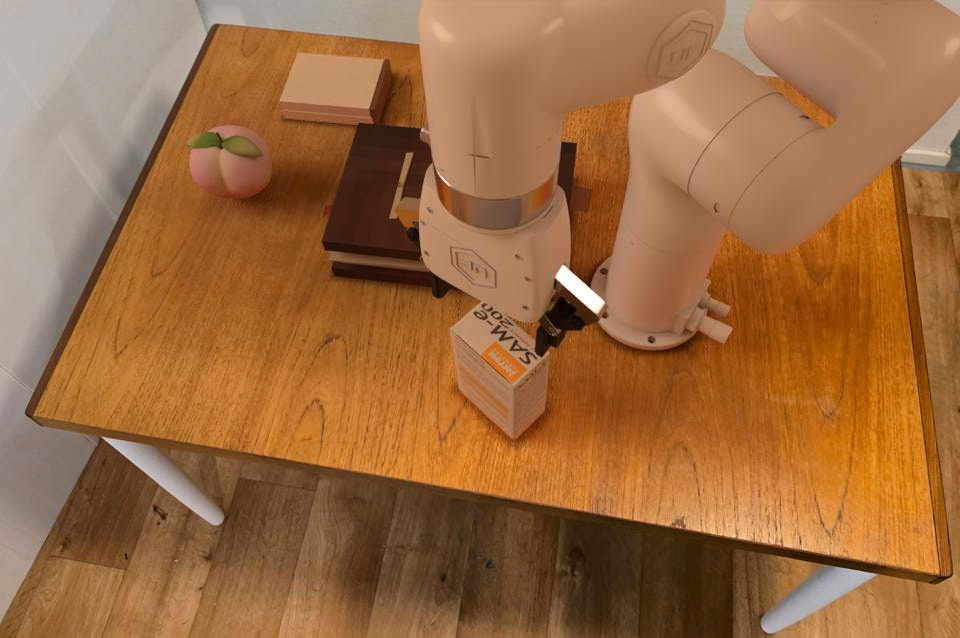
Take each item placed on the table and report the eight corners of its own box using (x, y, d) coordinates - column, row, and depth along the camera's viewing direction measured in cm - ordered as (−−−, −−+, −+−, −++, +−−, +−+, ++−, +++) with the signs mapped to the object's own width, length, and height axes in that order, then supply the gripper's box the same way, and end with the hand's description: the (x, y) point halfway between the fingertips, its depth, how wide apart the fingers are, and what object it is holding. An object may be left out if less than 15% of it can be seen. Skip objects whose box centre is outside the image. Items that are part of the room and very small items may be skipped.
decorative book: (339, 107, 86) (600, 131, 83) (351, 152, 92) (593, 176, 90) (294, 243, 77) (586, 275, 74) (311, 282, 83) (579, 313, 80)
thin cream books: (392, 77, 99) (389, 59, 96) (378, 127, 94) (374, 109, 92) (303, 69, 100) (297, 51, 97) (285, 118, 96) (278, 101, 93)
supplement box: (547, 411, 75) (554, 352, 63) (513, 443, 73) (515, 389, 62) (489, 359, 78) (486, 294, 67) (456, 389, 76) (447, 328, 65)
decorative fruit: (290, 164, 92) (267, 104, 83) (276, 217, 88) (251, 160, 79) (215, 162, 92) (185, 102, 84) (199, 215, 88) (165, 158, 80)
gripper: (345, 152, 46) (382, 296, 61) (590, 280, 41) (566, 403, 56) (416, 79, 49) (435, 234, 64) (653, 190, 44) (614, 330, 59)
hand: (496, 313), depth 60 cm, fingers open, 9 cm apart
